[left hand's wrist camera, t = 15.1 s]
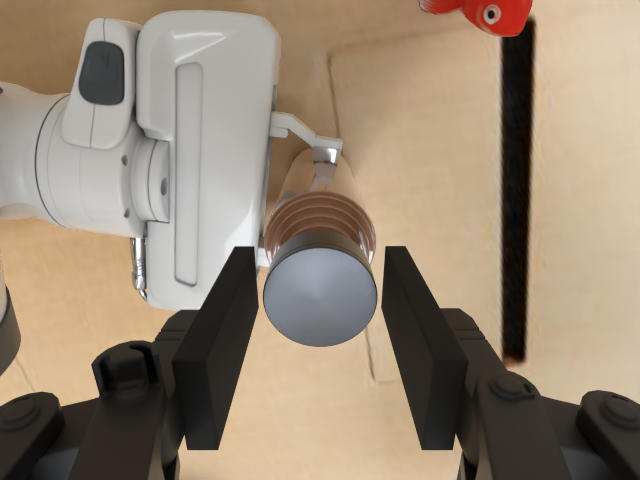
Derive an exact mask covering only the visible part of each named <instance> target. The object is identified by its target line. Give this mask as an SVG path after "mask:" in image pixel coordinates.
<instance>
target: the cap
mask: <svg viewBox="0 0 640 480" xmlns="http://www.w3.org/2000/svg"><path fill="white" fill-rule="evenodd" d="M263 303H264V308H265V311H266V314H267V316H268V318H269V320H270V321H271V323H272V324H273V325H274V327H275V328H276V329H277V330H278V331H279V332H280V333H282V334H283V335H284V336H285V337H287V338H289V339H291V340H293V341H295V342H297V343H300V344H303V345H308V346H315V347H326V346H333V345H337V344H340V343H343V342H346V341H348V340H350V339H352V338H353V337H355V336H356V335H358V334H359V333H360V332H361V331H362V330H363V329H364V328H365V327H366V326H367V325H368V323H369V322H370V320H371V319H372V317H373V315H374V312H375V309H376V305H377V288H376V284H375V281H374V277H373V274H372V270H371V267H370V263H369V261H368V258H367V256H366V255H365V253H364V252H363V250H362V249H361V248H360V247H359V246H358V245H357V244H356V243H355V242H354V241H352V240H351V239H349V238H348V237H346V236H344V235H342V234H339V233H336V232H331V231H324V230H316V231H309V232H305V233H301V234H299V235H297V236H294V237H293V238H291V239H289V240H288V241H287V242H285V243H284V244H283V245H282V246H281V247H280V248H279V249H278V251H277V252H276V253H275V255H274V257H273V259H272V262H271V264H270V268H269V271H268V275H267V278H266V282H265V285H264V290H263Z"/></svg>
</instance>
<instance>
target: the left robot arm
mask: <svg viewBox="0 0 640 480" xmlns="http://www.w3.org/2000/svg"><path fill="white" fill-rule="evenodd" d="M258 308H259V305H258V291H257V277H256V263H255V249H254V246H234V248H233V250H232V252H231V254H230V255H229V257H228V259H227V261H226V263H225V265H224V266H223V268H222V270H221V272H220V274H219V275H218V277H217V279H216V281H215V283H214V284H213V286H212V288H211V290H210V292H209V293H208V295H207V297H206V299H205V301H204V302H203V304H202V306H201V308H200V310H180V311H178V312H177V313H176V314H174V315H173V316H172V317H170V318H169V319H168V320H167V322H166V323H165V325H164V326H163V328H162V329H161V332H159V334H158V335H157V337H156V338H155V341H153V342H152V343H151V342H147V341H143V340H142V341H129V342H125V343H121V344H118V345H116V346H113V347H111V348H109V349H107V350H106V351H104V352H103V353H101V354H100V355H99V356H97V358H96V359H95V360H94V362H93V363H92V364H91V366H92V369H93V373H94V376H95V380H96V383H97V387H98V390H99V394H100V396H99V397H98V398H95V399H92V400H88V401H84V402H79V403H75V404H71V405H66V406H62V407H61V406H60V403H59V400H58V398H57V397H56V396H55V395H54V394H52V393H47V392H37V393H30V394H27V395H24V396H21V397H18V398H15V399H13V400H11V401H9V402H7V403H6V404H4V405H2V406H0V480H179V472H180V462H179V455H178V449H179V447H180V444H181V442H182V439H183V437H184V434H185V440H186V445H187V450H218V448H219V445H220V441H221V438H222V434H223V431H224V427H225V424H226V420H227V417H228V413H229V410H230V406H231V403H232V399H233V396H234V392H235V389H236V385H237V382H238V378H239V375H240V371H241V368H242V364H243V361H244V357H245V354H246V350H247V347H248V343H249V340H250V336H251V333H252V329H253V326H254V322H255V319H256V315H257V311H258ZM381 308H382V311H383V315H384V319H385V322H386V326H387V329H388V333H389V336H390V340H391V343H392V347H393V350H394V354H395V357H396V361H397V364H398V368H399V371H400V375H401V378H402V382H403V385H404V389H405V392H406V396H407V399H408V403H409V406H410V410H411V413H412V417H413V420H414V424H415V427H416V431H417V434H418V438H419V441H420V445H421V448H422V450H453V445H454V440H455V434H456V435H457V437H458V440H459V442H460V445H461V447H462V455H461V461H460V466H459V471H458V476H457V480H640V404H638V403H636V402H634V401H632V400H631V399H629V398H627V397H624V396H622V395H619V394H616V393H613V392H608V391H600V390H596V391H590V392H587V393H586V394H585V395H584V396H583V397H582V400H581V403H580V405H576V404H572V403H568V402H563V401H559V400H554V399H550V398H547V397H544V396H541V395H540V393H539V392H538V390H537V389H536V387H535V386H534V385H533V384H532V383H531V382H529V381H528V380H527V379H526V378H524V377H522V376H520V375H518V374H516V373H514V372H511V371H507V369H506V368H505V366H504V365H503V363H502V362H501V360H500V359H499V357H498V356H497V354H496V353H495V351H494V350H493V348H492V347H491V345H490V344H489V342H488V341H487V340H485V336H484V335H483V333H482V332H481V331H479V327H478V326H477V325H476V323H475V322H474V320H473V319H472V317H470V316H469V315H468V314H466V313H465V312H463V311H462V310H461V309H459V308H439V306H438V304H437V302H436V301H435V299H434V297H433V295H432V293H431V292H430V290H429V288H428V286H427V284H426V283H425V281H424V279H423V277H422V275H421V274H420V272H419V270H418V268H417V266H416V264H415V263H414V261H413V259H412V257H411V255H410V254H409V252H408V250H407V248H406V246H386V249H385V263H384V277H383V291H382V305H381Z"/></svg>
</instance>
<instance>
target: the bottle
mask: <svg viewBox="0 0 640 480" xmlns="http://www.w3.org/2000/svg"><path fill="white" fill-rule="evenodd" d="M313 152H314V148H313V147H312V148H309V149H306V150H305V151H303V152H301V153H300V154H299V155H298V156H297V157H296V158H295V159H294V161H293V162H292V164H291V167H290V169H289V172H288V174H287V177H286V179H285V182H284V184H283V187H282V189H281V192H280V195H279V197H278V200H277V202H276V205H275V207H274V210H273V212H272V215H271V217H270V220H269V222H268V225H267V228H266V232H265V239H264V245H265V252H266V256H267V259H268V262H269V264H271V262H272V259H273V257H274V255H275V253H276V252H277V251H278V249H279V248H280V247H281V246H282V245H283V244H284V243H285V242H287V241H288V240H289V239H291V238H293V237H294V236H297V235H299V234H301V233H305V232H309V231H316V230H324V231H331V232H336V233H339V234H342V235H344V236H346V237H348V238H349V239H351V240H352V241H354V242H355V243H356V244H357V245H358V246H359V247H360V248H361V249H362V250H363V252H364V253H365V255H366V256H367V258H368V261H369V263H370V265H371V262H372V260H373V257H374V254H375V248H376V237H375V231H374V227H373V225H372V222H371V220H370V217H369V214H368V212H367V209H366V207H365V204H364V202H363V199H362V197H361V194H360V192H359V189H358V187H357V184H356V182H355V179H354V177H353V174H352V172H351V169H350V167H349V164H348V162H347V161H346V159H345V158H344V157H343V156H342V155H341V157H340V162H339V164H331V163H329V162H327V161H324V162H317V161H313Z"/></svg>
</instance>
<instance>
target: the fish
mask: <svg viewBox="0 0 640 480" xmlns="http://www.w3.org/2000/svg"><path fill="white" fill-rule="evenodd" d="M419 6H420V8H421V10H423V11H425V12H430V13H433V14H435V15H437V14H446V13H450V12H453V11H456V10H459V9H460V10H461V12H462V13H463V14H464V15H465V17H466V18H467V19H468V20H469V21H470V22H472V23H473V24H474V25H476V26H477V27H478V28H479V29H481V30H483V31H485V32H486V33H488V34H491V35H494V36H501V37H506V36H516V35H519V33H520V32H521V31H522V29H523V28H524V25H525V22H526V19H527V17H528V14H529V12H530V9H531V7H532V0H419Z"/></svg>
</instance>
